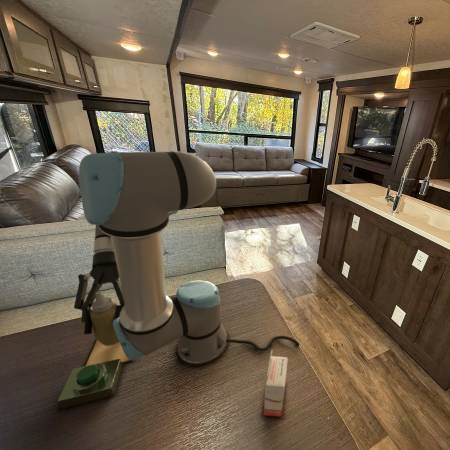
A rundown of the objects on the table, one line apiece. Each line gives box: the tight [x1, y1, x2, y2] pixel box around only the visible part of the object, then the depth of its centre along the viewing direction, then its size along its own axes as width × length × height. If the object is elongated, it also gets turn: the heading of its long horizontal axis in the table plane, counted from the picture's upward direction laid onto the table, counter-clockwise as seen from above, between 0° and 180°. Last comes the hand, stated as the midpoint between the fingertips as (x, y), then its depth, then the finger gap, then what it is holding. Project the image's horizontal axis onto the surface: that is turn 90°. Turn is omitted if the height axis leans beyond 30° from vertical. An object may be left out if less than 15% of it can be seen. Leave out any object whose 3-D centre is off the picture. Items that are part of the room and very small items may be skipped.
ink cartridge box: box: [263, 350, 289, 418], centre depth 65 cm, size 9×5×15 cm, turn 178°
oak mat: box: [85, 340, 133, 366], centre depth 78 cm, size 12×12×1 cm
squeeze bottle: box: [90, 290, 119, 346], centre depth 73 cm, size 8×8×18 cm
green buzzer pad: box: [57, 359, 123, 409], centre depth 66 cm, size 11×9×5 cm
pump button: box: [77, 365, 98, 385], centre depth 64 cm, size 4×4×2 cm
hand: (103, 331), depth 70 cm, fingers closed on squeeze bottle, 6 cm apart
